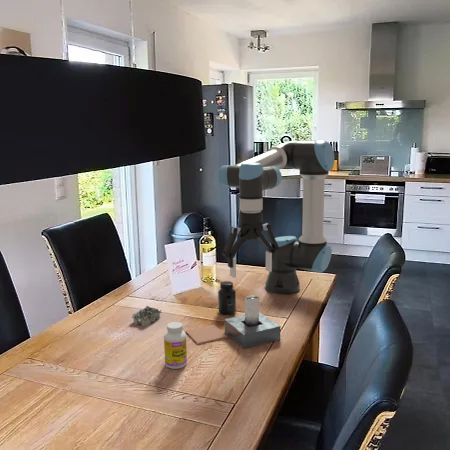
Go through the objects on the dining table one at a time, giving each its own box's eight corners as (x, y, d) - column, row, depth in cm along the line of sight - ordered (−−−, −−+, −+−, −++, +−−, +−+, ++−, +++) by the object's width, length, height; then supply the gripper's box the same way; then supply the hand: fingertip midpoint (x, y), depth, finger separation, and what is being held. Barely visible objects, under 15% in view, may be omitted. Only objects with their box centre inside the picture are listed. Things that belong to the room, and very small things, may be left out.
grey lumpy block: (146, 328, 170) (145, 317, 169) (130, 324, 174) (129, 313, 173) (163, 317, 179) (163, 307, 178) (147, 313, 183) (147, 304, 182)
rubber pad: (213, 325, 170) (213, 324, 170) (227, 337, 160) (227, 336, 160) (185, 332, 165) (185, 330, 165) (197, 344, 156) (197, 342, 156)
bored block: (259, 324, 170) (259, 311, 169) (280, 340, 158) (280, 326, 157) (224, 332, 164) (224, 319, 163) (243, 349, 152) (243, 334, 151)
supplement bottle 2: (236, 309, 185) (236, 280, 183) (235, 316, 179) (235, 286, 176) (219, 308, 186) (218, 280, 184) (217, 315, 179) (216, 285, 177)
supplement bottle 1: (170, 372, 139) (169, 331, 136) (161, 362, 144) (159, 323, 141) (190, 365, 142) (189, 326, 139) (181, 357, 148) (179, 318, 145)
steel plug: (254, 332, 164) (254, 293, 161) (261, 337, 160) (261, 298, 157) (242, 335, 162) (242, 296, 159) (249, 340, 158) (249, 300, 155)
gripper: (277, 206, 161) (276, 265, 165) (211, 212, 150) (212, 275, 155) (289, 209, 154) (288, 271, 159) (221, 216, 144) (222, 282, 148)
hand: (251, 273), depth 157 cm, fingers open, 13 cm apart
